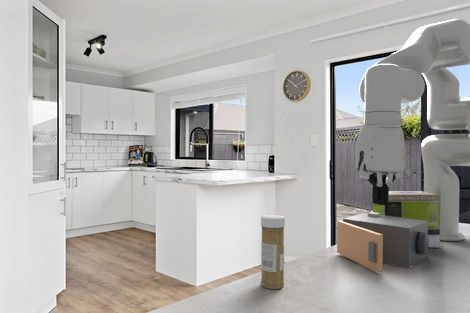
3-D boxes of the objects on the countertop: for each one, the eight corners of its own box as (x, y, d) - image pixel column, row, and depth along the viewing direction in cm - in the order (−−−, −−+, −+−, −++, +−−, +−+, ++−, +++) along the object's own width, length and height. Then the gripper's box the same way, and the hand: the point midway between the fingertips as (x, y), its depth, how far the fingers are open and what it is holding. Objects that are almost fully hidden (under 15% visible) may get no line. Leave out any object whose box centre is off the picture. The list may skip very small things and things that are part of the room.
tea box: (423, 240, 108) (423, 190, 108) (440, 249, 98) (441, 194, 98) (371, 239, 109) (372, 189, 109) (384, 247, 99) (384, 193, 99)
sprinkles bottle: (289, 286, 69) (289, 216, 69) (270, 291, 67) (271, 218, 67) (273, 279, 73) (274, 213, 73) (255, 284, 71) (256, 215, 70)
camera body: (364, 244, 102) (365, 209, 101) (433, 257, 89) (433, 218, 89) (342, 254, 92) (343, 215, 92) (415, 269, 80) (416, 225, 80)
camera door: (340, 252, 92) (340, 220, 92) (382, 272, 77) (382, 234, 76) (334, 252, 91) (334, 221, 91) (375, 273, 76) (375, 235, 76)
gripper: (398, 124, 86) (396, 202, 86) (343, 121, 82) (341, 202, 82) (422, 122, 79) (420, 206, 79) (363, 118, 75) (361, 207, 75)
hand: (380, 204), depth 81 cm, fingers closed
